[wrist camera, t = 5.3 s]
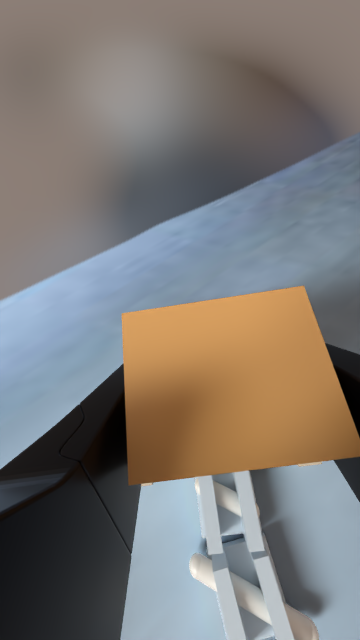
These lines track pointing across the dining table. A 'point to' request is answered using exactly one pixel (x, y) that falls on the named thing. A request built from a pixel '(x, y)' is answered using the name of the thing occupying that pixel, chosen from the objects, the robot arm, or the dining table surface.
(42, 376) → the dining table surface
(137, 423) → the orange-topped block
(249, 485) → the clip
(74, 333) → the dining table surface
